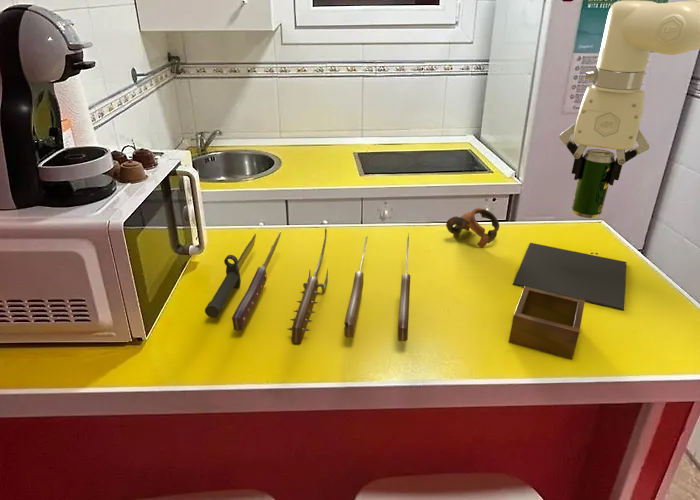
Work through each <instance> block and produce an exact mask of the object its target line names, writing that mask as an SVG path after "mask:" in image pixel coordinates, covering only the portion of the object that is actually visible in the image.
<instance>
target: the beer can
mask: <svg viewBox="0 0 700 500" xmlns="http://www.w3.org/2000/svg"><path fill="white" fill-rule="evenodd" d="M585 150H586V149H585ZM615 156H616V154H615V153H614V152H612V151H610V150H606V149H602V148H589V149H587V150H586V151H585V154H583V161H582V165H581V170H580V174H579V179H578V180H577V182H576V187H575V191H574V197H573V200H572V206H571V210H572V213H573V214H574V215H576V216H578V217H580V218H585V219H596V218H599V217H600V215H602V212H603V209H604V206H605V201H606V197H607V193H608V189H609V186H610V184H609V181H610V177H611V173H612V169H613V165H614V162H615V161H616V158H615Z"/></svg>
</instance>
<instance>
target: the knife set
mask: <svg viewBox="0 0 700 500" xmlns="http://www.w3.org/2000/svg"><path fill="white" fill-rule="evenodd" d="M327 231H328V230H327V228H325V229H324V239H323V244H322V248H321V252H320V256H319V258H318V262H317V265H316V267H315V271H314V273H313V275H311V270H309V271H308V278H307V281H306V282H304V283H303V284H302V286H303V289H304V291H300V294H301V293H302V294H303V295H302V298H301V300H298V301H296V303H299V306H298V309H297V310H293V312H294V313H296V314H295V317H294V318H290V319H289V320H290V321H293V323H292V327H289V328H287V330H288V331H291V342H292V343H293V344H301V343H302V341H303V337H304V334H305V332H308V331H309V332H310V330H309V329H307V326H308V325H307V324H308V323H310V322H312V319H311V320H310V315H311V314H315V313H316V311H312V309H313V307H314V305H315V304H318V302H317V301H316V300H315V299H316V297H317V295H320V294H321V292H318V289H319V288H321V290H322V291H323V292H325V291H326V289H327V286H328V281H329V280H328V279H329V269H328V268H326V273H325V280H324V283H319V280H318V275H319V273H320V270H321V267H322V263H323V258H324V255H325V249H326V243H327V238H328V237H327V235H328V234H327V233H328V232H327ZM281 234H282V231H279V232H278V235H277V237H276V239H275V240H274V243H273V244H272V246H271V248H270V250H269V252H268V254H267V256H266V258H265V260H264V262H263V264H262V266H258V267H257V269H256V271H255V273H254V275H253V277H252V280H251V282H250V284H249V287H248V288H247V290H246V292H245V294H244V296H243V297H242V299H241V300H240V301H239V304H238V305H237V307H236V309H235V311H234V313H233V314H232V317H231V320H232V326H233V330H234V331H235V332H236V331H237V332H241V331H243V330H244V328H245V326H246V323H247V321H248V320H249V317H250V316H251V314H252V312H253V311H254V309H255V307H256V305H257V303H258V302H259V299H260V296H261V294H262V292H263V289H264V288H265V285H266V282H267V280H268V277H267V269H268V266H269V264H270V262H271V260H272V258H273V255H274V254H275V252H276V251H275V250H276V248H277V246H278V243H279V241H280V237H281ZM256 237H257V234H256V233H254V234H253V236H252V238H251V240H250V241H249V243H248V244H247V245H246V246H245V248H244V249H243V251H242V252H241V254H240V257H239V258H237V256H236V255H234V254H228V255H226V257H225V259H224V260H223V263H224V266H226V267H225V275H226V276H225V277H224V279H223V280H222V282H221V284H220V285H219V287H218V288H217V290H216V292H215V294H214V296H213V297H212V299H211V300H210V301H209V302H208V303H207V305H206V306H205V308H204V313H205V315H206V316H207V317H209V318H212V319H216V318H218V317H219V316H220V314H221V313H222V311H223V307H224V305H225V303H226V302H227V300H228V298H229V296H230V294H231V293H232V291H233V290H240V288H241V283H242V282H241V273H240V270H241V269H242V267H243V266H244V263H245V262H246V260H247V259H248V257H249V255H250V254H251V252H252V251H253V249H254V246H255V243H256ZM368 238H369V237H368V236H365V239H364V240H365V241H364V245H363V251H362V256H361V261H360V266H359V271H356V272H355V273H354V277H353V283H352V288H351V293H350V297H349V301H348V305H347V309H346V313H345V318H344V322H343V323H344V327H343V333H344V334H343V335H344V337H345V338H346V339H353V338H354V337H355V332H356V327H357V321H358V318H359V312H360V307H361V302H362V295H363V290H364V272H363V271H362V270H363V266H364V260H365V255H366V249H367V243H368ZM409 247H410V233H409V232H408V234H407V239H406V257H405V273H403V274H402V275H401V280H400V294H399V306H398V319H397V320H398V321H397V341H399V342H407V341H408V339H409V337H408V335H409V318H410V317H409V316H410V296H411V295H410V294H411V293H410V292H411V274H409V273H408V267H409V266H408V265H409V262H408V261H409V249H410V248H409ZM229 260H231V261H233V263H231V262H229Z"/></svg>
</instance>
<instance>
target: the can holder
mask: <svg viewBox="0 0 700 500" xmlns="http://www.w3.org/2000/svg"><path fill="white" fill-rule="evenodd" d="M585 303H586V302H585V300H581V299H577V298H573V297H569V296H564V295H560V294H556V293H551V292H547V291H543V290H539V289H534V288H530V287H526V286H524V287H523V289H522V292H521V294H520V297H519V300H518V302H517V305H516V307H515V310H514V313H513V316H512V321H511V328H510V332H509V338H508V343H511V344H514V345H517V346H522V347H524V348H528V349H532V350H536V351H539V352H543V353H546V354H550V355H553V356H558V357H560V358H565V359H567V360H568V359H569V360H573V359H574V354H575V351H576V347H577V344H578V343H577V342H578V339H579V335H580V331H581V326H582V320H583V314H584V308H585Z"/></svg>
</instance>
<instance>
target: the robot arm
mask: <svg viewBox="0 0 700 500" xmlns="http://www.w3.org/2000/svg"><path fill="white" fill-rule="evenodd" d="M607 13H608V14H607V18H606V22H605V26H604V31H603V36H602V40H601V44H600V45H601V46H600V50H599V54H598V59H597V63H596V68H595V69H594V68H593V70H586V73H585V77H584V78H585V80H589V81H591V83H592V84H590V85H588V86H587V88H586V90H585V92H584V94H583V97H582V100H581V103H580V107H579V110H578V114H577V117H576V120H575V122H574V123H573V124H571V125H570V126H568V128H567V129H565V130H564V131H562V132H561V133H560V134H559V136H558V138H559V141H561V142H562V144H563V145H565V146H566V148H567V149H568V151H569V152H570V153H571V155H572V157H573V164H572V169H571V173H570V174H572V175H574V177H573V180H574V181H578V179H579V174H580V170H581V165H582V161H583V156H584V152H585V150H586V148H587V147H591V148H598V149H608V150H616V151H615V152H616V158H615V162H614V165H613V169H612V173H611V177H610V181H609V186H614V183H615V181H619V179H620V175H621V172H622V168H623V165H625V164H626V163H627V162H629V161H630V160H633V159H634V158H635V157H637V156H638V155H640V154H643V153H645V152H646V151H649V149H650V143H649V142H648V140H647V139H646V137H645V136H644V134H643V132H642V131H641V130H640V125H641V121H642V116H643V110H644V105H645V90H644V89H642V84H643V80H644V76H645V72H646V68H647V64H648V61H649V57H650V54H651V52H653V53H656V54H661V55H667V56H675V55H681V54H686V53H689V52H692V51H696V50H700V0H680V1H672V2H671V1H670V2H662V3H658V2H655V1H652V0H618V1H615V2H614V3H613V4H612V5H611V6H610V8H609V10H608V12H607ZM572 135H573V137H572V138H571V137H570V136H572ZM636 142H637V144H638V145H636V146H635V144H636ZM634 146H635V147H634Z"/></svg>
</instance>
